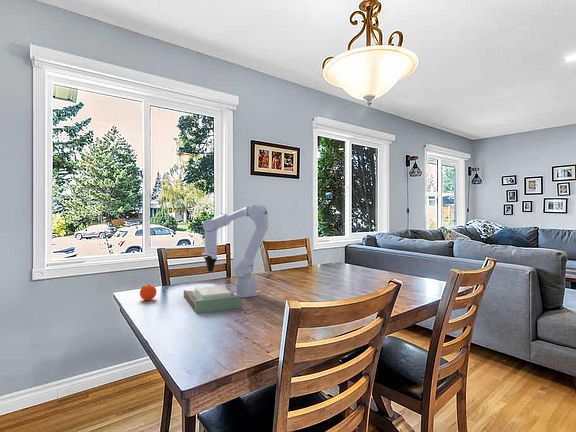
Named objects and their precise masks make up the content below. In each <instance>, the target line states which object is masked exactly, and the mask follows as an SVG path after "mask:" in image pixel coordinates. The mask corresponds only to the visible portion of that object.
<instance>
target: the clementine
mask: <svg viewBox="0 0 576 432" xmlns="http://www.w3.org/2000/svg"><path fill="white" fill-rule="evenodd" d="M138 289H139V296H140V298H141V299H142V300H144V301H152V300H153V299H154V298H155V297H156V295H157V288H156V287H155V286H154V285H153V284H143V285H141V286H139V287H138Z"/></svg>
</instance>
